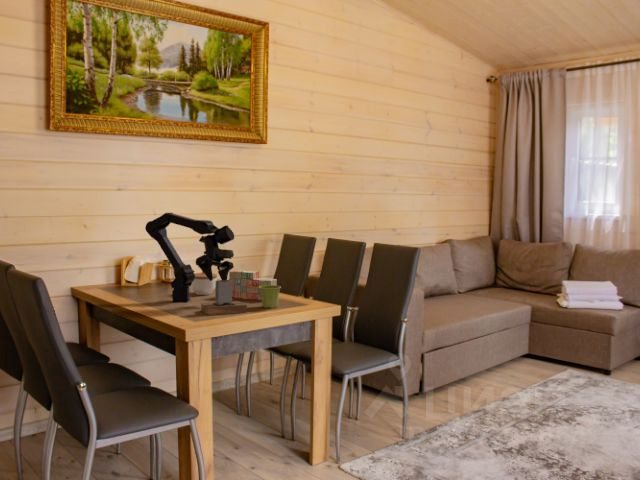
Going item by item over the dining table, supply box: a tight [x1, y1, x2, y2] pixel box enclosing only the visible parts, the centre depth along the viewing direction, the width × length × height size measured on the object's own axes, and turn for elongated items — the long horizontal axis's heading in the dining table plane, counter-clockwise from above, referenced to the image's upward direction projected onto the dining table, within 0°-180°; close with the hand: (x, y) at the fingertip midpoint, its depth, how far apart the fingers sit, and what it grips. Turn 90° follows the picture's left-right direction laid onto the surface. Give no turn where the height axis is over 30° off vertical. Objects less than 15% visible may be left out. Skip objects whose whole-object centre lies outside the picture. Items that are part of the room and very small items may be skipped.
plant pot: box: [259, 285, 282, 309], centre depth 272 cm, size 9×9×9 cm
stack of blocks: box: [228, 269, 278, 301], centre depth 292 cm, size 21×6×12 cm, turn 68°
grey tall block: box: [214, 279, 233, 306], centre depth 260 cm, size 4×6×12 cm
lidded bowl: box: [190, 270, 218, 296], centre depth 301 cm, size 13×13×11 cm
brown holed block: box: [200, 300, 248, 316], centre depth 260 cm, size 10×16×3 cm, turn 117°
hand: (218, 282), depth 269 cm, fingers open, 9 cm apart
